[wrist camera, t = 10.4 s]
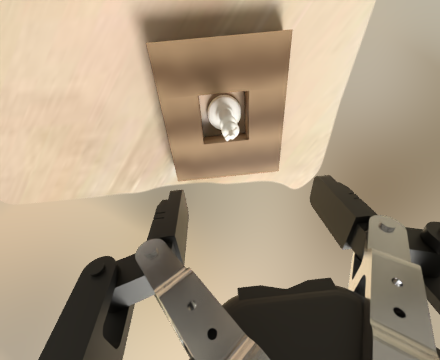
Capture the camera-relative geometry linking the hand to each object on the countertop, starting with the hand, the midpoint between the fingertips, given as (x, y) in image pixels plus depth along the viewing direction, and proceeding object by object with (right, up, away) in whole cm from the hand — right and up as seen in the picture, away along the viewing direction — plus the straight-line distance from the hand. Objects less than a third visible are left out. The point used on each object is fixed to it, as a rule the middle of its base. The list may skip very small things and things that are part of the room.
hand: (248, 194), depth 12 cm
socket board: (-1, +11, +17) cm, 20 cm away
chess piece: (-1, +11, +17) cm, 20 cm away
